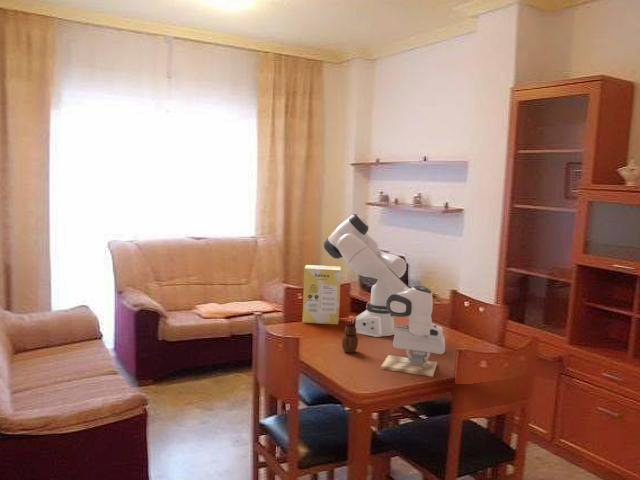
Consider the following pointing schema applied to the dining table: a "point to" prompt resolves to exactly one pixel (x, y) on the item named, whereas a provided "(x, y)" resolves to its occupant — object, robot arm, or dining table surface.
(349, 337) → the wooden figurine
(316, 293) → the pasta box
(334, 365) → the dining table surface
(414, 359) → the sanding block
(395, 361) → the board
